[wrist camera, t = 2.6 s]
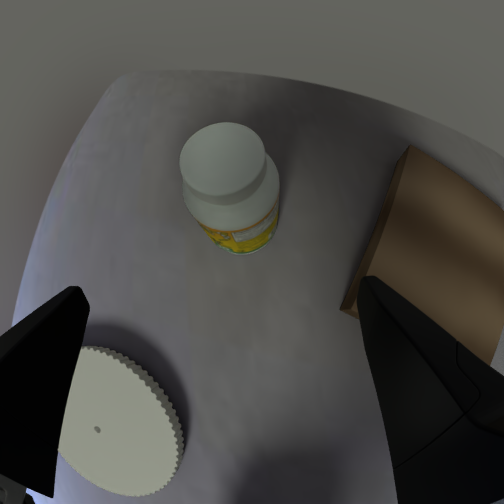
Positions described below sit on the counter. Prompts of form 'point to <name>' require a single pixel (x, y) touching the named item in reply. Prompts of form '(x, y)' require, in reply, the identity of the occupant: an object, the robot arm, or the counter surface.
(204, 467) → the counter surface
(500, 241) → the walnut plinth
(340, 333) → the counter surface
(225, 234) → the supplement bottle
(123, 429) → the plastic lid
